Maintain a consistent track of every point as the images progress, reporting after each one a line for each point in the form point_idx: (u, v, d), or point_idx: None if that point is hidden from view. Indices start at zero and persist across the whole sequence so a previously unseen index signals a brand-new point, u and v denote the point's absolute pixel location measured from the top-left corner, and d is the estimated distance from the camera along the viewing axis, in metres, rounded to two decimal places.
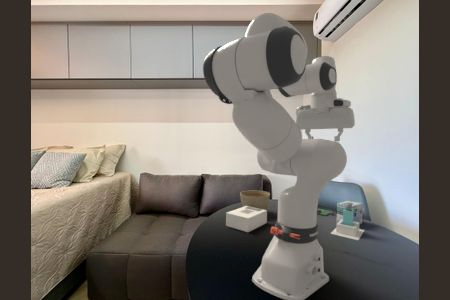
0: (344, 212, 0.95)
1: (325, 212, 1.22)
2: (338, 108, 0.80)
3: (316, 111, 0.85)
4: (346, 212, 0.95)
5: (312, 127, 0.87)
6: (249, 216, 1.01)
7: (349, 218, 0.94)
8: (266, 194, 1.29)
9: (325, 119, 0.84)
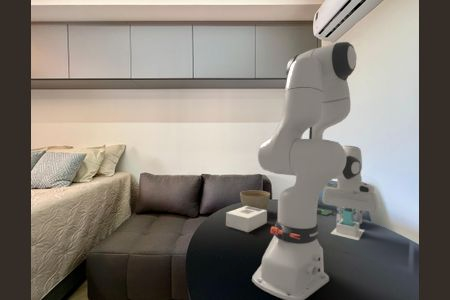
0: (344, 212, 0.95)
1: (325, 212, 1.22)
2: (363, 193, 0.90)
3: (343, 192, 0.95)
4: (346, 212, 0.95)
5: (338, 205, 0.97)
6: (249, 216, 1.01)
7: (349, 218, 0.94)
8: (266, 194, 1.29)
9: (350, 200, 0.94)
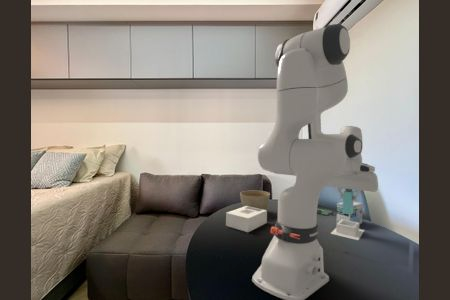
0: (344, 193, 0.95)
1: (325, 212, 1.22)
2: (364, 173, 0.90)
3: (343, 172, 0.95)
4: (346, 193, 0.95)
5: (338, 186, 0.97)
6: (249, 216, 1.01)
7: (349, 199, 0.94)
8: (266, 194, 1.29)
9: (351, 180, 0.94)
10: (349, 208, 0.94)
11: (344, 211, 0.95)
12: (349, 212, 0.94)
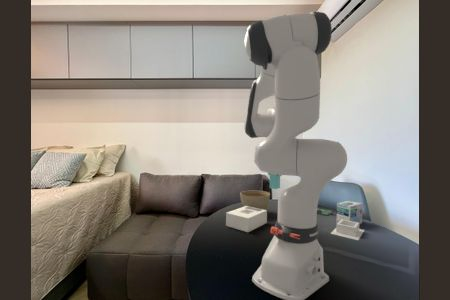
0: None
1: (325, 212, 1.23)
2: None
3: None
4: None
5: None
6: (249, 216, 1.01)
7: (274, 174, 1.02)
8: (266, 194, 1.29)
9: None
10: (274, 183, 1.02)
11: (270, 186, 1.04)
12: (274, 187, 1.03)
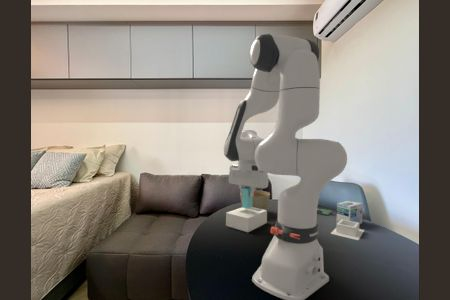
0: (243, 189, 1.07)
1: (326, 212, 1.23)
2: (255, 172, 1.02)
3: (241, 171, 1.07)
4: (244, 189, 1.07)
5: (239, 183, 1.08)
6: (249, 216, 1.01)
7: (246, 194, 1.06)
8: (266, 194, 1.29)
9: (247, 178, 1.05)
10: (246, 203, 1.06)
11: (243, 205, 1.07)
12: (246, 206, 1.06)
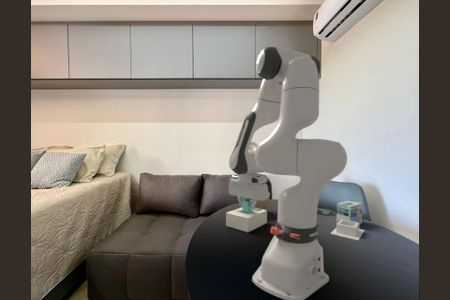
0: (243, 202, 1.07)
1: (326, 211, 1.23)
2: (255, 184, 1.02)
3: (241, 183, 1.07)
4: (244, 202, 1.06)
5: (239, 195, 1.08)
6: (249, 216, 1.01)
7: (246, 207, 1.06)
8: None
9: (247, 190, 1.06)
10: None
11: None
12: None
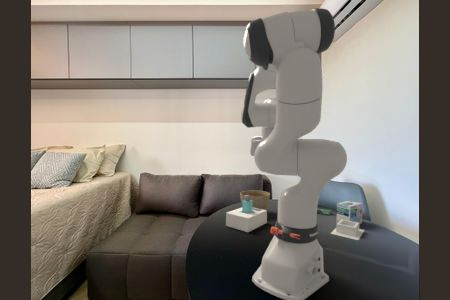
0: (243, 202, 1.07)
1: (326, 211, 1.23)
2: None
3: None
4: (244, 202, 1.07)
5: None
6: (249, 216, 1.01)
7: (246, 207, 1.06)
8: (266, 194, 1.29)
9: None
10: None
11: None
12: None
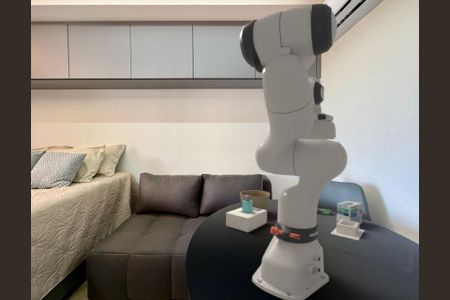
0: (243, 202, 1.07)
1: (326, 211, 1.23)
2: (321, 121, 0.92)
3: None
4: (244, 202, 1.07)
5: (299, 137, 0.99)
6: (249, 216, 1.01)
7: (246, 207, 1.06)
8: (266, 194, 1.29)
9: (310, 131, 0.96)
10: None
11: None
12: None
